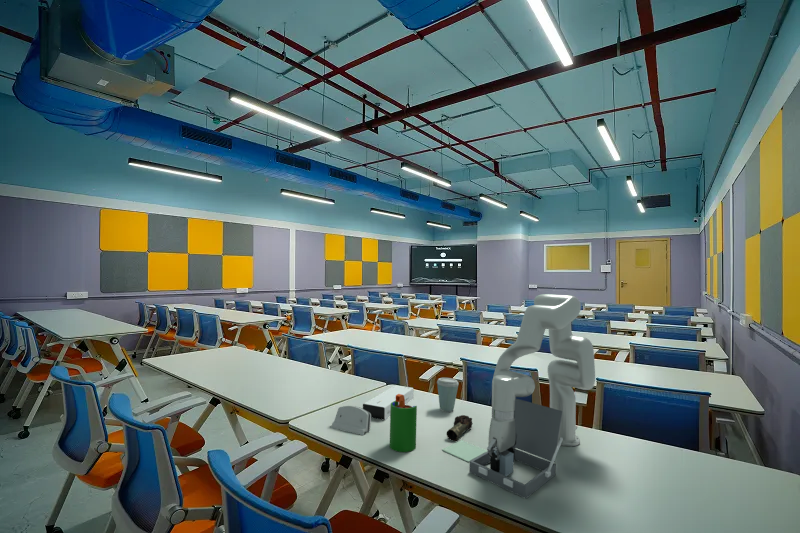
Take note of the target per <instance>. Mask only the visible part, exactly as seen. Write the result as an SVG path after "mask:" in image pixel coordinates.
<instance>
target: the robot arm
mask: <svg viewBox="0 0 800 533" xmlns="http://www.w3.org/2000/svg"><path fill="white" fill-rule="evenodd" d="M581 309H582V304H581V301H580V299H579V298H578V297H576V296H574V295H567V294H551V293H547V294H545V293H543V294H539V295H536V296H535V297H534V299H533V305H529V306H527V307H526V309H525V310H524V314H523V317H522V321H521V322H520V323H521V324H520V327H519V330H518V334H517V336H516V337H517V338H516V340H515V342H514V343H513V344H511V345H510V346H509V347H507V348H506V350H504V352H502V354H500V356H499V358H498V359H497V362H496V366H495V369H494V373H493V378H492V382H491V418H490V422H489V428H488V444H487V445H488V446H487V447H486V450H487V451H488V454H489V457H490V462H489V465H490V466H489V469H491V470H493V471H496V472H500V460H499V456H500V453H501V452H503V451H505V450H506V451H509V452H511V453H514V455H513V464H514V463H515V462H516V460H515V451H514V450H515V449H516V448H515V445H516V439H517V434H516V433H515V398H516V399H517V398H526V397H529V396H531V395H532V394H533V393H534V391H535V388H536V384H535V380H534V379H533V378H532V377H531V376H530V375H528V374H525V373H520V372H517V371H514V370H510V369H511V366H512V365H513V363H514V362H515V361H516V360H518V359H520V358H521V357H524V356H527V355H530V354H535V353H536V352H538V351H540V349H541V347H542V343H543V339H544V335H545V332H546V330H548V339H549V350H550V353H551V355H552V356H554V357H555V358H559V359H554V360H551V361H550V362H549V364H548V365H547V377H548V382H549V408H553V409H556V410H560V411H563V414H562V420H561V427H560V433H559V439H558V443H559V440H560V438H563V440H562V442H561V445H560V446H564V447H575V446H578V445H580V443H581V440H580V438H579V436H577V435H576V431H577V429H578V426H577V425H576V423H577V422H576V415H577V414H576V413H577V412H576V411H577V407H576V406H577V405H576V402H577V401H576V394H575V392H574V390H573V388H576V389H579V390H584V391H589V390H592V389H593V388H594V386H595V383H596V364H595V353H594V352H595V351H594V350H595V349H594V344H593V343H592V341H591V340H590V339H588V338H587V337H585V336H579V335H573V333H572V332H573V331H572V322H573V321H574V320H575V319H576V318H577V317H578V316H579V314H580V313H581ZM570 360H571V361H570ZM573 361H575V362H573ZM495 447H497V448H499V449H496V448H495ZM494 451H497V454H495V453H494Z"/></svg>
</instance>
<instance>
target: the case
mask: <svg viewBox="0 0 800 533" xmlns="http://www.w3.org/2000/svg"><path fill="white" fill-rule="evenodd" d="M562 440H563V438H560V440H559V443H558V445H557V448H556V450H555V453H554V455H553V458H552V460H551V461H549V460H546V459H544V458H541V457H538V456H536V455H533V454H530V453H528V452H525V451H522V450H520V449H517V448H515V450H514V451H515V461H517V462H519V463H522V464H525V465H527V466H530V467H532V468H534V469H536V470H537V469H538V470H540V471H541V472H539V473H538V474H536V475H535V476H534V477H533V478H531V479H529V481H527V482H525V484H524V483H522V482H521V481H518V480H516V479H513V478H511V477H509V476H508V475H507V476H505V475H502V474H500V473H498V472H496V471H493V470H491V469H490V467H489V468H488V467H486V465H488V464H490V457H489V454H488V450H487V452H486V453H484V454H482V455H480V456H478V457H476V458H475V459H473V460H471V461H470V462H469V473H470V474H473V475H475V476H477V477H480V478H481V479H483V480H485V481H488V482H489V483H492V484H493V485H496V486H498V487H500V488H502V489H503V490H507V491H508V492H511V493H513V494H515V495H517V496H519V497H520V498H523V499H528V497H530V496H531V495H533V493H535V492H536V491H537V490H539V489H540V488H541V487H542V486H544V485H546V483H547V482H549V481H550V480H551V479H552V478H553V477H555V476H556V474H557V472H556V471H557V470H556V469H557V468H556V467H557V466H556V465H557V464H556V463H554V460H555V461H556V458H557V455H558V453H559V450H560V447H561V446H562V445H561V442H562ZM495 448H496V449H499V448H497V447H495Z"/></svg>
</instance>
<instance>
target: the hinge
mask: <svg viewBox="0 0 800 533" xmlns="http://www.w3.org/2000/svg"><path fill="white" fill-rule="evenodd" d="M371 421H372V418H371V414H370V413H369V412H368V411H366V410H364V409H363V407H359V406H356V405H343V406H340V407H338V408H337V411H336V415H335V417H334V420H333V421H332V423H331V429H335V428H336V430H339V429H340V431H343V430H344V432H347V431H348V432H347V433H351V432H352V434H355V433H356V434H355V435H359V434H360V436H365V433H366V432H367V433H368V432H369V431H371V424H372V422H371Z"/></svg>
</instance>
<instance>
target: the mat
mask: <svg viewBox="0 0 800 533" xmlns="http://www.w3.org/2000/svg"><path fill="white" fill-rule="evenodd" d="M441 451H443V452H444V453H447V454H449V455H451V456H454V457H455V458H458V459H460V460H462V461H465V463H469V464H470V461H471V460H473V459H475V458H476V457H478V456H480V455H482V454H484V453H486V452H487V451H488V450H487V449H485V448H482V447H480V446H478V445H474V444H472V443H470V442H467V441H465V440H459V441H457V442H455V443H453V444H450V445H448V446H447V447H444V448H442V449H441Z"/></svg>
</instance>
